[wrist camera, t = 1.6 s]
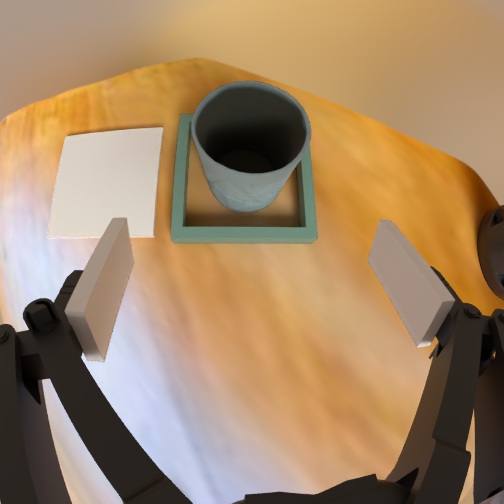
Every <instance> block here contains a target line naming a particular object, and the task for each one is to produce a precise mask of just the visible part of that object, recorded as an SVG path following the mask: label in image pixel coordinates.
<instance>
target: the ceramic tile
mask: <svg viewBox="0 0 504 504" xmlns="http://www.w3.org/2000/svg"><path fill="white" fill-rule="evenodd" d="M163 135H164V128H163V127H156V128H140V129H127V130H116V131H106V132H96V133H88V134H80V135H72V136H66V138H65V142H64V146H63V150H62V154H61V159H60V163H59V168H58V172H57V177H56V182H55V188H54V193H53V199H52V205H51V211H50V218H49V226H48V234H47V237H48V238H50V239H62V238H101V237H102V235H103V234H104V232H105V230H106V228H107V227H108V225H109V223H110V221H111V220H112V218H122V217H127V223H128V229H129V236H130V238H136V237H155V221H156V206H157V193H158V182H159V171H160V161H161V152H162V143H163Z"/></svg>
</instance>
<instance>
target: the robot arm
mask: <svg viewBox="0 0 504 504" xmlns="http://www.w3.org/2000/svg"><path fill="white" fill-rule="evenodd" d="M478 251H479V259H480V264H481V268H482V271H483V274H484V277H485V279H486V281H487V283H488V285H489V287H490V288H491V290H492V291H493V292H494V293H495V294H496V295H497V296H498V297H499V298H501V299H503V300H504V205H502V206H499V207H497V208H494V209H492V210H490V211H489V212H488V213H487V214H486V215H485V216H484V218H483V220H482V222H481V225H480V229H479V235H478ZM368 263H369V265H370V266H371V268H372V269H373V271H374V273H375V274H376V276H377V278H378V279H379V281H380V283H381V284H382V286H383V288H384V289H385V291H386V293H387V295H388V296H389V298H390V300H391V301H392V303H393V305H394V307H395V308H396V310H397V312H398V314H399V316H400V317H401V319H402V321H403V323H404V324H405V326H406V328H407V330H408V332H409V334H410V335H411V337H412V339H413V341H414V343H415V345H416V347H417V348H419V347H424V346H429V345H430V344H431V343H432V341H433V339H434V338H435V336H436V338H437V339H438V341H439V342H438V344H437V345H436V347H435V349H434V350H433V352H432V353H431V355H430V356H429V359H431V357H432V356H433V359H432V363H431V367H430V370H429V374H428V377H427V381H426V384H425V388H424V391H423V394H422V397H421V400H420V403H419V406H418V409H417V412H416V415H415V418H414V421H413V424H412V426H411V429H410V432H409V434H408V437H407V439H406V442H405V444H404V447H403V449H402V452H401V454H400V457H399V459H398V461H397V463H396V465H395V467H394V469H393V470H392V472H391V473H390V474H389V475H388V477H387V478H386V480H378V479H377V477H376V474H372V475H368V476H364V477H360V478H356V479H352V480H347V481H345V482H343V483H341V484H339V485H336V486H334V487H332V488H330V489H328V490H325V491H323V492H321V493H319V494H314V495H311V494H298V493H287V492H272V493H261V494H246V495H245V498H244V500H241V501H237V502H235V503H232V504H458V501H459V499H460V495H461V492H462V489H463V486H464V483H465V479H466V476H467V472H468V469H469V465H470V461H471V453H470V452H469V451H466V443H467V439H468V434H469V430H470V425H471V420H472V415H473V409H474V417H475V468H474V492H473V495H474V504H504V310H502V309H495V310H494V312H493V314H492V315H491V316H485V315H482V314H481V312H480V310H479V309H477V308H476V307H475V306H473V305H472V304H469V303H463V302H462V301H461V300H460V298H459V297H458V296H457V294H456V293H455V292H454V290H453V289H452V288H451V286H449V284H448V282H447V281H445V278H444V277H443V276H442V275H441V273H440V272H439V271H437V270H436V269H435V268H433V267H432V266H429V265H428V264H427V262H426V261H425V260H424V259H423V257H422V256H421V255H420V254H419V252H418V251H417V250H416V249H415V248H414V246H413V245H412V244H411V243H410V242H409V240H408V239H407V238H406V237H405V236H404V235H403V233H402V232H401V231H400V230H399V229H398V228H397V226H396V225H395V224H394V223H393V222H392V221H391V220H379V223H378V227H377V230H376V234H375V238H374V241H373V245H372V248H371V252H370V255H369V258H368ZM133 265H134V259H133V253H132V248H131V242H130V236H129V229H128V223H127V217H122V218H112V220H111V221H110V223H109V225H108V227H107V228H106V230H105V232H104V234H103V235H102V237H101V239H100V241H99V243H98V245H97V246H96V248H95V250H94V252H93V254H92V256H91V258H90V259H89V261H88V263H87V265H86V267H85V269H84V270H74V271H73V272H72V273H71V274H70V275H69V276H68V277H67V278H66V280H65V282H64V284H63V287H62V288H61V290H60V291H59V294H58V295H57V297H56V299H55V301H54V303H53V302H52V301H51V300H49V299H47V298H40V299H37V300H34V301H33V302H31V303H30V304H28V306H27V307H26V308H25V310H24V312H23V319H24V321H25V323H26V325H27V326H28V328H29V330H27V331H21V332H16V331H15V329H14V328H13V327H12V326H11V325H9V324H2V325H0V501H1V504H72V502H71V499H70V497H69V494H68V491H67V488H66V485H65V482H64V478H63V475H62V472H61V469H60V465H59V461H58V458H57V454H56V450H55V446H54V442H53V438H52V434H51V429H50V425H49V420H48V415H47V409H46V404H45V398H44V392H43V385H42V380H43V379H49V378H50V380H51V382H52V384H53V386H54V388H55V391H56V393H57V395H58V397H59V399H60V401H61V403H62V405H63V407H64V409H65V410H66V412H67V414H68V416H69V418H70V420H71V422H72V423H73V425H74V427H75V429H76V431H77V432H78V434H79V436H80V437H81V439H82V441H83V442H84V444H85V446H86V447H87V449H88V451H89V452H90V454H91V455H92V457H93V459H94V460H95V462H96V463H97V465H98V466H99V468H100V469H101V471H102V472H103V474H104V475H105V476H106V478H107V479H108V481H109V482H110V483H111V485H112V486H113V488H114V489H115V490H116V492H117V493H118V494H119V496H120V497H121V499H122V500H123V504H193V503H192V502H191V501H190V500H189V499H188V498H187V497H186V496H185V495H184V494H183V493H182V492H181V491H180V490H179V489H178V488H177V487H176V486H175V484H174V483H173V482H172V481H171V480H170V479H169V478H168V477H167V476H166V475H165V474H164V473H163V472H162V471H161V470H160V469H159V468H158V466H157V465H156V464H155V463H154V462H153V461H152V459H151V458H150V457H149V456H148V454H147V453H146V452H145V451H144V450H143V448H142V447H141V446H140V444H139V443H138V442H137V441H136V439H135V438H134V437H133V435H132V434H131V433H130V431H129V430H128V429H127V427H126V426H125V425H124V423H123V422H122V421H121V419H120V418H119V416H118V415H117V413H116V412H115V411H114V409H113V408H112V406H111V405H110V403H109V402H108V400H107V399H106V397H105V396H104V394H103V393H102V391H101V390H100V388H99V387H98V385H97V383H96V382H95V380H94V379H93V377H92V375H91V374H90V372H89V370H88V369H87V367H86V365H85V364H84V362H83V360H82V358H81V356H82V353H84V355H85V357H86V359H87V361H98V362H104V361H105V358H106V354H107V350H108V346H109V343H110V339H111V335H112V332H113V328H114V325H115V321H116V318H117V315H118V311H119V308H120V305H121V302H122V298H123V295H124V292H125V289H126V286H127V283H128V280H129V277H130V274H131V271H132V268H133ZM495 352H496V353H495ZM494 353H495V358H494V356H493V354H494Z"/></svg>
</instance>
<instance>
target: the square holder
mask: <svg viewBox="0 0 504 504" xmlns="http://www.w3.org/2000/svg"><path fill="white" fill-rule="evenodd" d="M193 115H194V114H180V121H179V130H178V140H177V150H176V161H175V174H174V187H173V203H172V221H171V239H172V241H173V242H174V243H295V244H312V243H313V242H314V241H315V240H316V239H318V237H317V222H316V209H315V196H314V185H313V174H312V163H311V154H310V144H309V147H308V149H307V151H306V153H305V154H304V156H303V157H302V159H301V160H300V161H299V163H298V164H297V166H296V169H297V182H298V197H299V212H300V227H185V225H186V201H187V182H188V166H189V151H190V138H191V133H192V130H191V126H192V119H193Z"/></svg>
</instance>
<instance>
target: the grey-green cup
mask: <svg viewBox="0 0 504 504" xmlns="http://www.w3.org/2000/svg"><path fill="white" fill-rule="evenodd" d="M191 130H192V137H193V140H194V143H195V146H196V148H197V151H198V154H199V156H200V160H201V162H202V164H203V169H204V172H205V175H206V178H207V179H208V183H209V186H210V189H211V191H212V193H213V195H214V197H215V198H216V199H217V200H218V201H219V202H220V203H221V204H222V205H223V206H225V207H227V208H229V209H231V210H233V211H236V212H244V213H245V212H248V213H251V212H254V211H258V210H261V209H263V208H265V207H267V206H268V205H269V204H271V203H272V202H273V201H274V200H275V198H276V197H277V196H278V194H279V192H280V190H281V189H282V187H283V186H284V184H285V183H286V181H287V179H288V178H289V176H290V175H291V173H292V171H293V170H294V169H295V167H296V166H297V164H298V163H299V161H300V160H301V159H302V157H303V156H304V154H305V153H306V151H307V149H308V147H309V144H310V140H311V126H310V121H309V119H308V116H307V114H306V112H305V110H304V108H303V107H302V106H301V105H300V103H299V102H298V101H297V100H296V99H295V98H294V97H292V96H291V95H290V94H289V93H287V92H286V91H284V90H282V89H280V88H278V87H275V86H272V85H270V84H266V83H263V82H257V81H239V82H233V83H229V84H226V85H223V86H221V87H219V88H217V89H215V90H214V91H212V92H211V93H209V94H208V95H207V96H206V97H205V98H204V99H203V100H202V101H201V102H200V104H199V105H198V107H197V109H196V111H195V113H194V115H193V119H192V126H191Z"/></svg>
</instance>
